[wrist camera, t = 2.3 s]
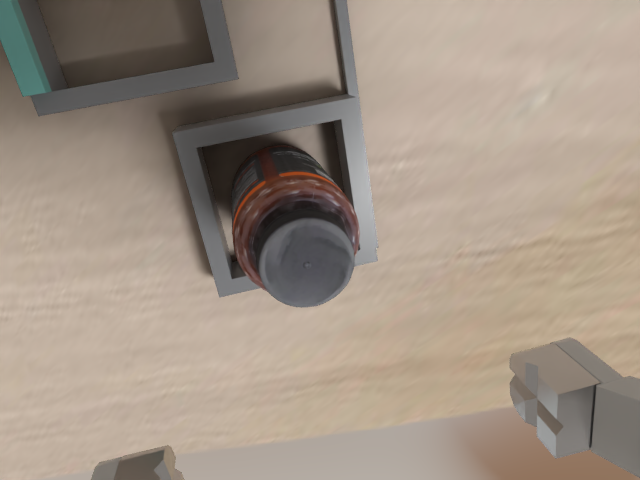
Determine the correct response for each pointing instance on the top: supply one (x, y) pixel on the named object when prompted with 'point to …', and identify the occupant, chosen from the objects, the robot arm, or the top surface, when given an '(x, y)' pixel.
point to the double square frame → (54, 96)
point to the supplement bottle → (293, 227)
